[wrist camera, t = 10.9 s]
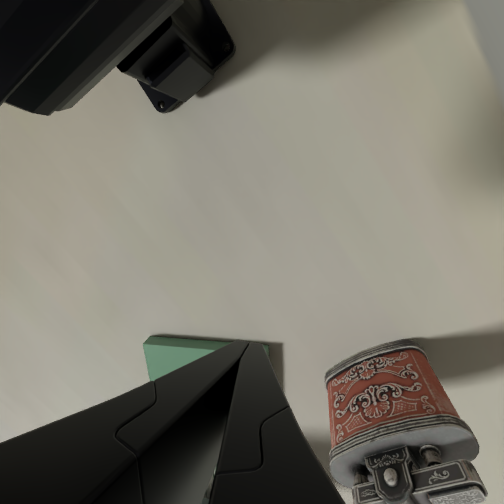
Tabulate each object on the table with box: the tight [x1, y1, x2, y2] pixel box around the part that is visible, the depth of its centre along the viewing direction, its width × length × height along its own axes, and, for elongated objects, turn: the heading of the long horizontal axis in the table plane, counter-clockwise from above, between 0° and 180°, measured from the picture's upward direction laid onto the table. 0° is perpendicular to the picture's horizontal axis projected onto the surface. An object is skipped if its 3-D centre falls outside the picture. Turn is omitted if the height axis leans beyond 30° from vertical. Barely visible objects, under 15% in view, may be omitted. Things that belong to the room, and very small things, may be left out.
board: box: [143, 336, 269, 477], centre depth 27 cm, size 19×11×1 cm, turn 3°
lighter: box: [325, 339, 488, 504], centre depth 18 cm, size 8×3×10 cm, turn 126°
